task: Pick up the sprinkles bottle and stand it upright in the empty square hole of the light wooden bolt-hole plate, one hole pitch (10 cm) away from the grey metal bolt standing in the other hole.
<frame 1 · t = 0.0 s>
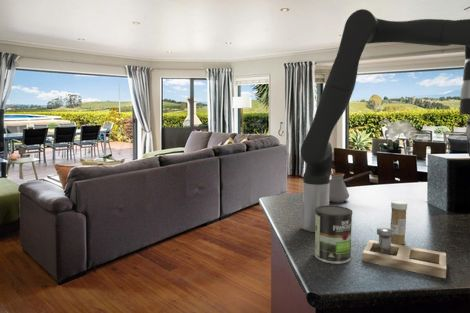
coffee pot: (347, 201, 157), on the kitchen island
coffee can: (332, 257, 97), on the kitchen island
bolt-hole plate: (403, 261, 93), on the kitchen island
sprinkles bottle: (397, 243, 106), on the kitchen island
grey metal bolt: (384, 257, 95), resting in bolt-hole plate
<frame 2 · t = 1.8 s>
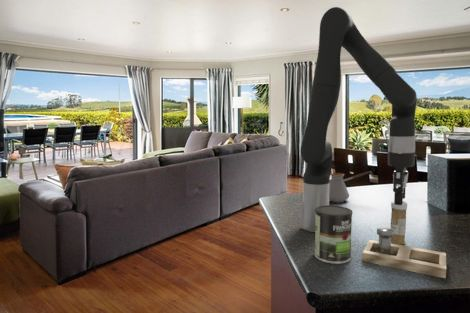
hand: (399, 201, 104), 14 cm above the kitchen island, tool pointing down, fingers open, 8 cm apart
nothing on the kitchen island moved.
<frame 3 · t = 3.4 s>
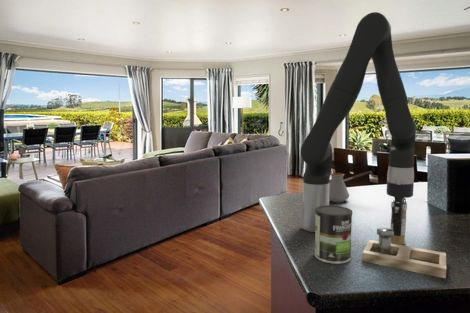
hand: (397, 232, 106), 3 cm above the kitchen island, tool pointing down, fingers closed on sprinkles bottle, 4 cm apart
sprinkles bottle: (397, 243, 106), on the kitchen island, touching gripper
everything else where it was.
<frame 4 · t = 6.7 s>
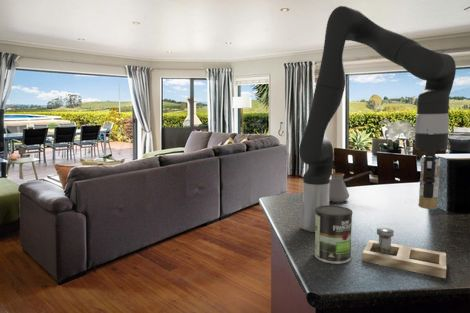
hand: (428, 195, 88), 20 cm above the kitchen island, tool pointing down, fingers closed on sprinkles bottle, 4 cm apart
sprinkles bottle: (427, 208, 88), point 16 cm above the kitchen island, touching gripper
everything else where it was.
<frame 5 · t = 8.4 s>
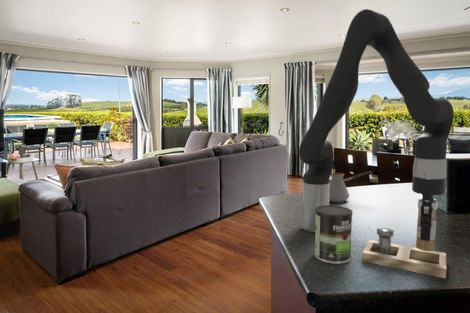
hand: (425, 236, 89), 8 cm above the kitchen island, tool pointing down, fingers closed on sprinkles bottle, 4 cm apart
sprinkles bottle: (425, 249, 89), point 5 cm above the kitchen island, touching gripper
everything else where it was.
when the fingers open (4 cm above the kitchen island, at t = 9.9 s): sprinkles bottle stays where it is, resting in bolt-hole plate.
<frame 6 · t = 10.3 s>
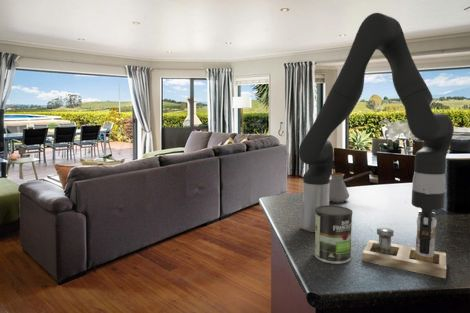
hand: (424, 247, 89), 5 cm above the kitchen island, tool pointing down, fingers open, 8 cm apart
sprinkles bottle: (423, 265, 90), resting in bolt-hole plate
everything else where it was.
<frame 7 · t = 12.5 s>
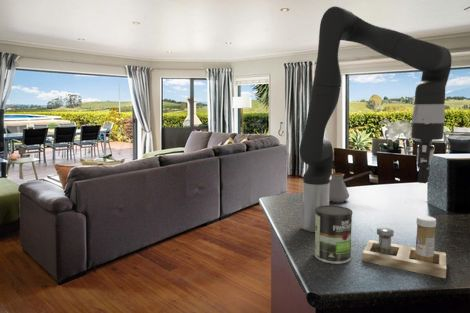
hand: (423, 180, 91), 23 cm above the kitchen island, tool pointing down, fingers open, 8 cm apart
nothing on the kitchen island moved.
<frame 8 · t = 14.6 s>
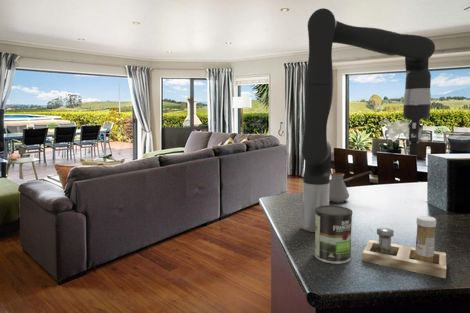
hand: (414, 153, 108), 28 cm above the kitchen island, tool pointing down, fingers open, 8 cm apart
nothing on the kitchen island moved.
at the end: sprinkles bottle 0.0 cm from the target spot on the bolt-hole plate, point 0.0 cm above the bolt-hole plate's base; sprinkles bottle tilted 0°; the gripper is holding nothing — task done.
